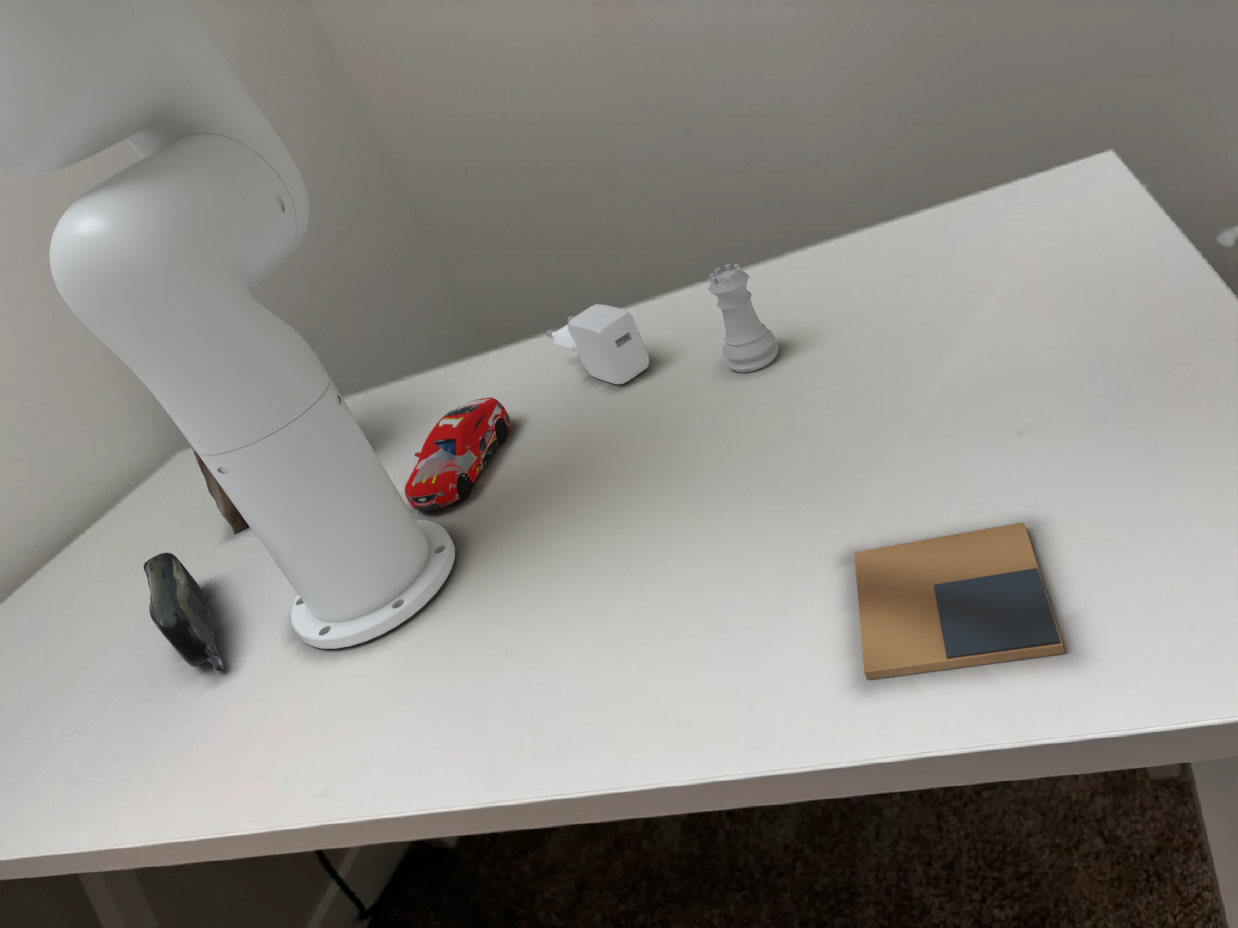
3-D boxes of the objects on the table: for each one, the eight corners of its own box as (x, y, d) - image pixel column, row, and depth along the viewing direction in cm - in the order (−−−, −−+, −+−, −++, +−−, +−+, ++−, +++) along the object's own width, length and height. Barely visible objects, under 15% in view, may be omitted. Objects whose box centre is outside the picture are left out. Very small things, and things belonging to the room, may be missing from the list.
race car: (458, 516, 74) (435, 476, 72) (403, 521, 76) (379, 482, 74) (523, 419, 83) (504, 381, 81) (472, 426, 86) (453, 389, 84)
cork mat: (856, 559, 54) (853, 549, 53) (1025, 530, 51) (1023, 518, 50) (866, 680, 46) (863, 669, 46) (1064, 653, 44) (1062, 641, 43)
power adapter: (552, 369, 90) (527, 315, 87) (591, 343, 92) (568, 289, 89) (617, 393, 81) (592, 333, 78) (659, 363, 83) (637, 304, 80)
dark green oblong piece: (133, 562, 76) (153, 640, 64) (168, 541, 77) (194, 613, 65) (170, 607, 79) (196, 690, 66) (203, 586, 80) (235, 664, 67)
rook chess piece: (719, 362, 79) (689, 276, 75) (766, 339, 79) (739, 252, 75) (740, 381, 75) (709, 291, 71) (789, 356, 75) (762, 266, 71)
